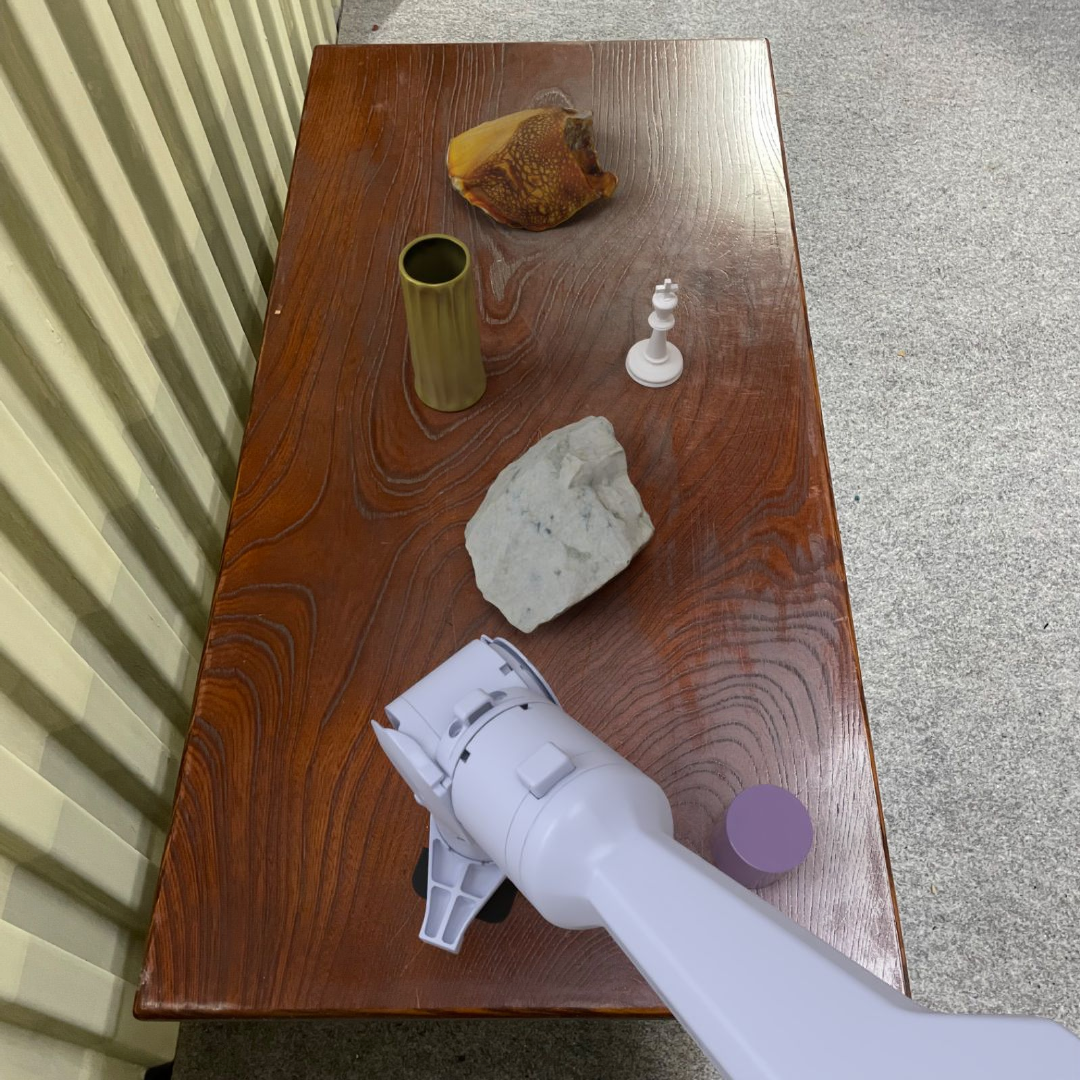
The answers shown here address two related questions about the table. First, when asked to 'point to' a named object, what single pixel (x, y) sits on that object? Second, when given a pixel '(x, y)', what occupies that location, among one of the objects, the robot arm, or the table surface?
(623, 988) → the table surface
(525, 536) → the rock
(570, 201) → the seashell
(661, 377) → the chess piece
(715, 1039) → the robot arm
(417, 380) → the vase
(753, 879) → the purple round peg
